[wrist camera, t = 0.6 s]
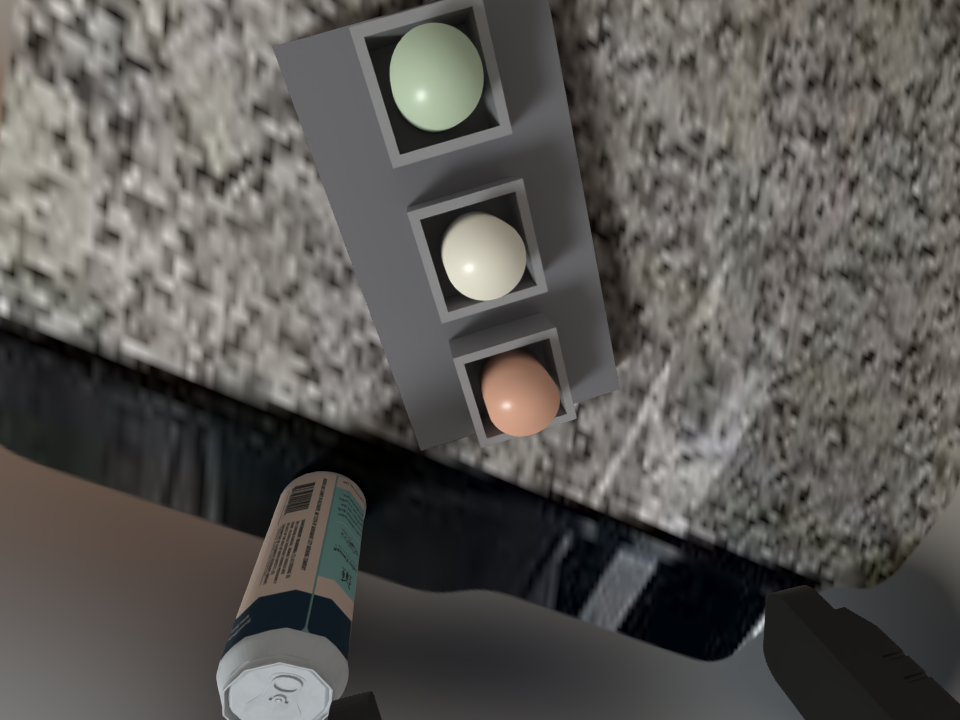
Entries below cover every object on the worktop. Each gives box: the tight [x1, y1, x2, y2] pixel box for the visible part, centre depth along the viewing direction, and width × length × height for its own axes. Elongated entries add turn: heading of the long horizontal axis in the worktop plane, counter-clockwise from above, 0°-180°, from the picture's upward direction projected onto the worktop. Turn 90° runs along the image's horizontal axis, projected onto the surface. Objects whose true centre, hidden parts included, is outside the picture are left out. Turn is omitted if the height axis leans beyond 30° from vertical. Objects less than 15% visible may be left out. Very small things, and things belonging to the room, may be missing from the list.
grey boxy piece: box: [273, 0, 620, 451], centre depth 24 cm, size 11×19×4 cm, turn 15°
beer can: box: [216, 471, 366, 720], centre depth 24 cm, size 5×5×12 cm
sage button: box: [390, 23, 484, 132], centre depth 19 cm, size 3×3×3 cm
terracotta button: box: [479, 348, 560, 436], centre depth 24 cm, size 3×3×3 cm
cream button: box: [440, 211, 526, 301], centre depth 22 cm, size 3×3×3 cm
